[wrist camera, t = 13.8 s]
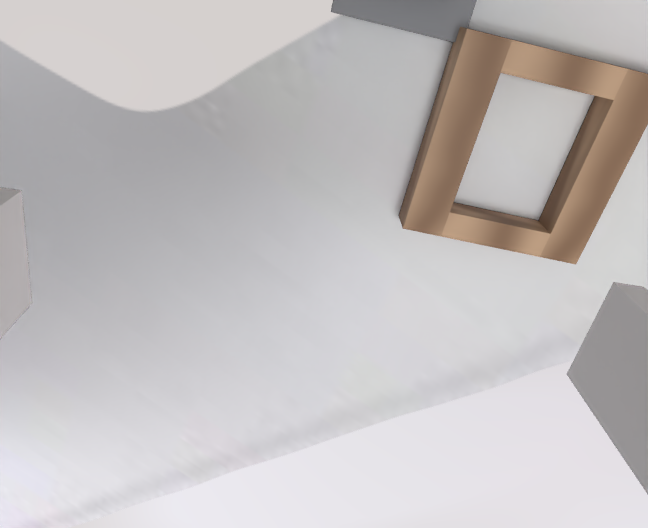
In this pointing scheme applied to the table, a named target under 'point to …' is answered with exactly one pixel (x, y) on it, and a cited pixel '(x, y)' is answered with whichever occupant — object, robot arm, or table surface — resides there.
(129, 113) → the table surface
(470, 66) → the frame
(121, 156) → the table surface
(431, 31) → the mat
